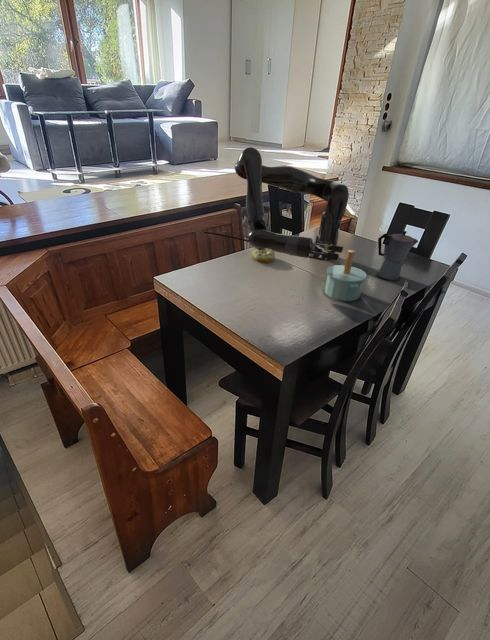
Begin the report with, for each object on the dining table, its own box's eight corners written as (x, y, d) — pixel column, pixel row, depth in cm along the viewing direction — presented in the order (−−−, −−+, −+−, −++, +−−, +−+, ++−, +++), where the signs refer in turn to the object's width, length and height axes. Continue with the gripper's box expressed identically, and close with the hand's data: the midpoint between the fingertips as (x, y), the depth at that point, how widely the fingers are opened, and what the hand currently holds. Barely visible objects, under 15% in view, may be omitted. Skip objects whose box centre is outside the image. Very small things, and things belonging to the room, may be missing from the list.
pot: (333, 305, 135) (337, 285, 130) (318, 283, 150) (321, 264, 145) (368, 304, 136) (373, 284, 131) (349, 283, 151) (354, 264, 146)
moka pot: (408, 282, 153) (424, 235, 141) (370, 279, 155) (383, 232, 143) (403, 273, 160) (418, 228, 149) (367, 270, 163) (379, 225, 151)
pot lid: (333, 284, 132) (338, 259, 126) (321, 268, 144) (325, 244, 138) (372, 283, 133) (379, 258, 127) (356, 267, 145) (362, 244, 139)
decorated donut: (253, 263, 167) (254, 255, 164) (251, 255, 175) (251, 247, 173) (276, 263, 167) (276, 255, 165) (272, 254, 176) (272, 247, 174)
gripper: (301, 249, 148) (341, 256, 142) (292, 261, 137) (334, 269, 132) (304, 231, 143) (345, 237, 138) (294, 242, 133) (338, 249, 127)
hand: (340, 253), depth 135 cm, fingers open, 8 cm apart
